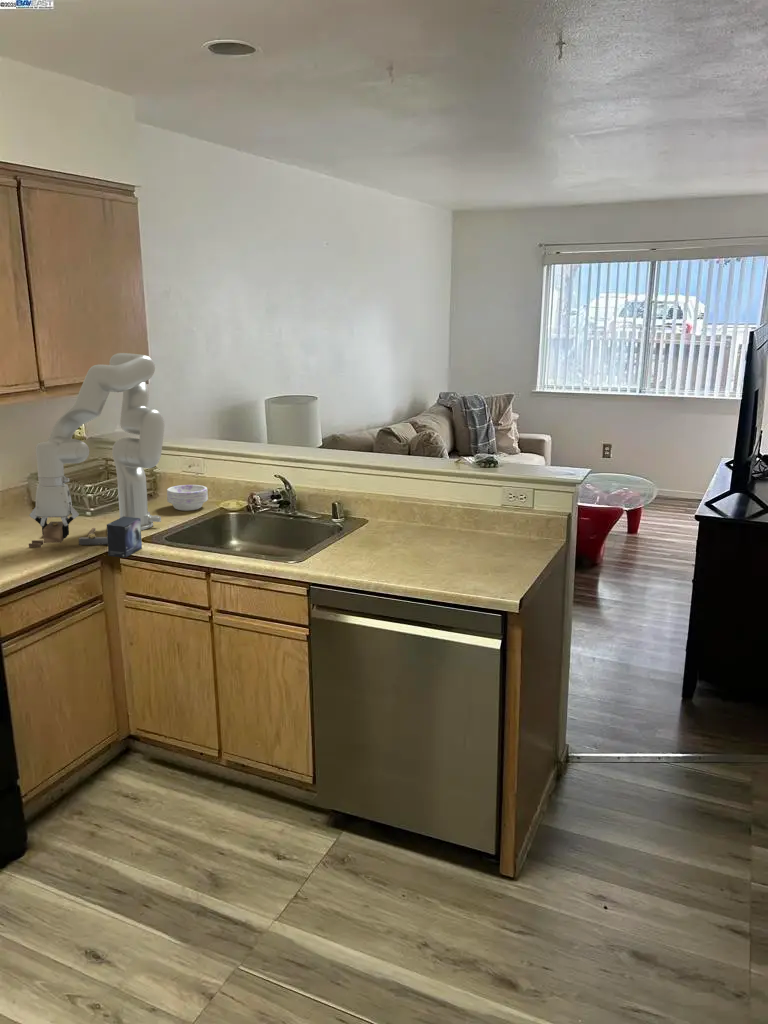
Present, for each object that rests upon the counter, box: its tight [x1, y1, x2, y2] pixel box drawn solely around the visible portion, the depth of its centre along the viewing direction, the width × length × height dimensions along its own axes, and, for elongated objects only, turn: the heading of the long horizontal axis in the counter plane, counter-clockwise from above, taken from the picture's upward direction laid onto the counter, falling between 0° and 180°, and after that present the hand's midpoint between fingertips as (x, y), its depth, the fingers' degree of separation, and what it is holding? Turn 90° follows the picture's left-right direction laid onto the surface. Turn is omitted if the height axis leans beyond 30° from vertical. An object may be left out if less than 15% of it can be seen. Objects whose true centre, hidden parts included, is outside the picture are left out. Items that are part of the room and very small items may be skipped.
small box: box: [106, 516, 143, 559], centre depth 247 cm, size 11×6×10 cm, turn 168°
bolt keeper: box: [28, 539, 45, 548], centre depth 253 cm, size 4×4×1 cm
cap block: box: [42, 520, 66, 544], centre depth 249 cm, size 5×9×5 cm, turn 8°
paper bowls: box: [166, 484, 209, 512], centre depth 302 cm, size 15×15×8 cm
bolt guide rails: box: [42, 527, 97, 539], centre depth 265 cm, size 16×7×1 cm, turn 98°
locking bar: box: [78, 533, 108, 546], centre depth 255 cm, size 12×2×3 cm, turn 98°
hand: (56, 536), depth 249 cm, fingers closed on cap block, 5 cm apart
